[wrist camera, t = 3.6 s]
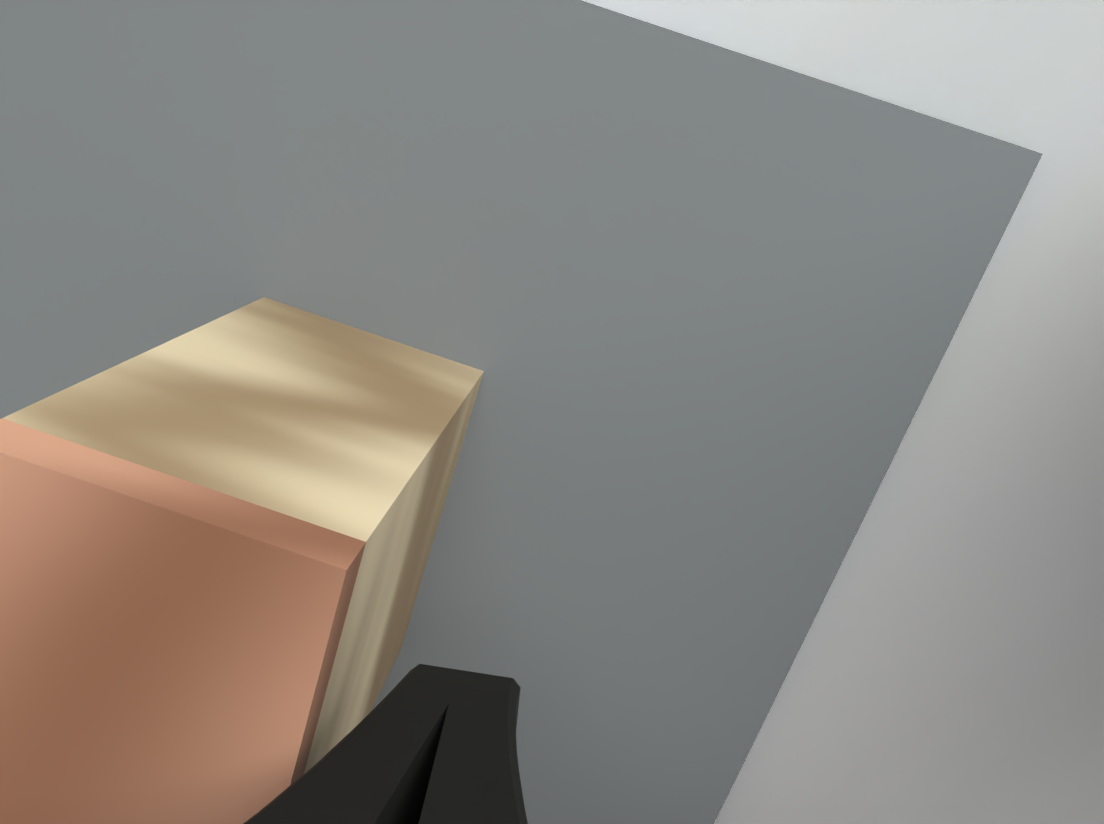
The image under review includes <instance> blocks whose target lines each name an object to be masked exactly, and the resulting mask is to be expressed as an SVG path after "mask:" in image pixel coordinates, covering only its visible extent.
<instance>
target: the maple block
mask: <svg viewBox="0 0 1104 824" xmlns="http://www.w3.org/2000/svg"><path fill="white" fill-rule="evenodd" d="M483 373H484V371H482V370H479V369H476V368H473V367H470V366H467V365H464V364H461V363H458V362H455V361H452V360H449V359H446V358H443V357H440V356H437V355H434V354H431V353H428V352H425V351H422V350H419V349H416V348H413V347H411V346H408V345H405V344H402V343H399V342H396V341H393V340H390V339H387V338H384V337H381V336H378V335H375V334H372V333H369V332H366V331H363V330H360V329H357V328H354V327H351V326H348V325H345V324H342V323H339V322H336V321H333V320H331V319H328V318H325V317H322V316H319V315H316V314H313V313H310V312H307V311H304V310H301V309H298V308H295V307H292V306H289V305H286V304H283V303H280V302H277V301H274V300H271V299H268V298H265V297H263V298H261V299H259V300H257V301H255V302H252V303H250V304H248V305H246V306H244V307H242V308H239V309H237V310H235V311H233V312H231V313H229V314H226V315H224V316H222V317H220V318H218V319H216V320H213V321H211V322H209V323H207V324H205V325H203V326H200V327H198V328H196V329H194V330H192V331H190V332H187V333H185V334H183V335H181V336H179V337H177V338H174V339H172V340H170V341H168V342H166V343H164V344H162V345H159V346H157V347H155V348H153V349H151V350H149V351H146V352H144V353H142V354H140V355H138V356H136V357H133V358H131V359H129V360H127V361H125V362H123V363H120V364H118V365H116V366H114V367H112V368H110V369H107V370H105V371H103V372H101V373H99V374H97V375H94V376H92V377H90V378H88V379H86V380H84V381H81V382H79V383H77V384H75V385H73V386H71V387H68V388H66V389H64V390H62V391H60V392H58V393H55V394H53V395H51V396H49V397H47V398H45V399H43V400H40V401H38V402H36V403H34V404H32V405H30V406H27V407H25V408H23V409H21V410H19V411H17V412H14V413H12V414H10V415H8V416H6V417H4V418H1V419H0V824H243V823H245V822H246V821H247V820H249V819H250V818H251V817H253V816H254V815H255V814H256V813H258V812H259V811H260V810H261V809H263V808H264V807H265V806H266V805H268V804H269V803H270V802H271V801H272V800H274V799H275V798H276V797H277V796H278V795H280V794H281V793H282V792H283V791H284V790H286V789H287V788H288V787H289V786H290V785H292V784H293V783H294V782H295V781H296V780H298V779H299V778H300V777H301V776H302V775H304V774H305V773H306V772H307V771H308V770H309V769H311V768H312V767H313V766H314V765H315V764H316V763H317V762H318V761H320V760H321V759H322V758H323V757H324V756H325V755H326V754H327V753H328V752H329V751H330V750H331V749H332V748H333V747H335V746H336V745H337V744H338V743H339V742H340V741H341V740H342V739H343V738H344V737H345V736H346V735H347V734H349V733H350V732H351V731H352V730H353V729H354V728H355V727H356V726H357V725H358V724H359V723H360V722H361V721H362V720H363V719H364V718H365V717H366V716H367V715H368V714H369V713H370V712H371V710H372V708H373V706H374V704H375V702H376V700H377V698H378V696H379V694H380V692H381V690H382V688H383V686H384V683H385V681H386V679H387V677H388V675H389V673H390V671H391V669H392V667H393V665H394V663H395V661H396V659H397V657H398V655H399V653H400V651H401V647H402V644H403V641H404V637H405V634H406V630H407V627H408V624H409V620H410V617H411V614H412V610H413V607H414V604H415V600H416V597H417V594H418V590H419V587H420V584H421V580H422V577H423V574H424V570H425V567H426V564H427V560H428V557H429V554H430V550H431V547H432V544H433V540H434V537H435V533H436V530H437V527H438V523H439V520H440V517H441V513H442V510H443V507H444V503H445V500H446V497H447V493H448V490H449V487H450V483H451V480H452V477H453V473H454V470H455V467H456V463H457V460H458V457H459V453H460V450H461V446H462V443H463V440H464V436H465V433H466V430H467V426H468V423H469V420H470V416H471V413H472V410H473V406H474V403H475V400H476V396H477V393H478V390H479V386H480V383H481V380H482V376H483Z"/></svg>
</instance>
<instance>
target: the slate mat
mask: <svg viewBox="0 0 1104 824" xmlns="http://www.w3.org/2000/svg"><path fill="white" fill-rule="evenodd" d="M1041 156H1042V154H1041V153H1038V152H1035V151H1032V150H1029V149H1026V148H1023V147H1020V146H1017V145H1014V144H1011V143H1008V142H1005V141H1002V140H999V139H996V138H993V137H990V136H987V135H984V134H981V133H978V132H975V131H972V130H969V129H966V128H963V127H960V126H957V125H954V124H951V123H948V122H945V121H942V120H939V119H936V118H933V117H930V116H927V115H924V114H921V113H918V112H915V111H912V110H909V109H906V108H903V107H900V106H897V105H894V104H891V103H888V102H885V101H882V100H879V99H876V98H873V97H870V96H867V95H864V94H861V93H858V92H855V91H852V90H849V89H846V88H843V87H840V86H837V85H834V84H831V83H827V82H824V81H821V80H818V79H815V78H812V77H809V76H806V75H803V74H800V73H797V72H794V71H791V70H788V69H785V68H782V67H779V66H776V65H773V64H770V63H767V62H764V61H761V60H758V59H755V58H752V57H749V56H746V55H743V54H740V53H737V52H734V51H731V50H728V49H725V48H722V47H719V46H716V45H713V44H710V43H707V42H704V41H701V40H698V39H695V38H692V37H689V36H686V35H683V34H680V33H677V32H674V31H671V30H668V29H665V28H662V27H659V26H656V25H653V24H650V23H647V22H644V21H641V20H638V19H635V18H632V17H629V16H626V15H623V14H620V13H617V12H614V11H611V10H608V9H605V8H602V7H599V6H596V5H593V4H590V3H587V2H584V1H581V0H0V419H1V418H4V417H6V416H8V415H10V414H12V413H14V412H17V411H19V410H21V409H23V408H25V407H27V406H30V405H32V404H34V403H36V402H38V401H40V400H43V399H45V398H47V397H49V396H51V395H53V394H55V393H58V392H60V391H62V390H64V389H66V388H68V387H71V386H73V385H75V384H77V383H79V382H81V381H84V380H86V379H88V378H90V377H92V376H94V375H97V374H99V373H101V372H103V371H105V370H107V369H110V368H112V367H114V366H116V365H118V364H120V363H123V362H125V361H127V360H129V359H131V358H133V357H136V356H138V355H140V354H142V353H144V352H146V351H149V350H151V349H153V348H155V347H157V346H159V345H162V344H164V343H166V342H168V341H170V340H172V339H174V338H177V337H179V336H181V335H183V334H185V333H187V332H190V331H192V330H194V329H196V328H198V327H200V326H203V325H205V324H207V323H209V322H211V321H213V320H216V319H218V318H220V317H222V316H224V315H226V314H229V313H231V312H233V311H235V310H237V309H239V308H242V307H244V306H246V305H248V304H250V303H252V302H255V301H257V300H259V299H261V298H263V297H265V298H268V299H271V300H274V301H277V302H280V303H283V304H286V305H289V306H292V307H295V308H298V309H301V310H304V311H307V312H310V313H313V314H316V315H319V316H322V317H325V318H328V319H331V320H333V321H336V322H339V323H342V324H345V325H348V326H351V327H354V328H357V329H360V330H363V331H366V332H369V333H372V334H375V335H378V336H381V337H384V338H387V339H390V340H393V341H396V342H399V343H402V344H405V345H408V346H411V347H413V348H416V349H419V350H422V351H425V352H428V353H431V354H434V355H437V356H440V357H443V358H446V359H449V360H452V361H455V362H458V363H461V364H464V365H467V366H470V367H473V368H476V369H479V370H482V371H484V373H483V376H482V380H481V383H480V386H479V390H478V393H477V396H476V400H475V403H474V406H473V410H472V413H471V416H470V420H469V423H468V426H467V430H466V433H465V436H464V440H463V443H462V446H461V450H460V453H459V457H458V460H457V463H456V467H455V470H454V473H453V477H452V480H451V483H450V487H449V490H448V493H447V497H446V500H445V503H444V507H443V510H442V513H441V517H440V520H439V523H438V527H437V530H436V533H435V537H434V540H433V544H432V547H431V550H430V554H429V557H428V560H427V564H426V567H425V570H424V574H423V577H422V580H421V584H420V587H419V590H418V594H417V597H416V600H415V604H414V607H413V610H412V614H411V617H410V620H409V624H408V627H407V630H406V634H405V637H404V641H403V644H402V647H401V651H400V653H399V655H398V657H397V659H396V661H395V663H394V665H393V667H392V669H391V671H390V673H389V675H388V677H387V679H386V681H385V683H384V686H383V688H382V690H381V692H380V694H379V696H378V698H377V700H376V702H375V704H374V706H373V708H372V710H373V709H374V708H375V707H376V706H377V705H378V704H379V703H380V702H381V701H382V700H383V699H384V698H385V697H386V696H387V695H388V694H389V693H390V692H391V691H392V690H393V688H394V687H395V686H396V685H397V684H398V683H399V682H400V681H401V680H402V679H403V678H404V677H405V676H406V675H407V673H408V672H409V671H410V670H411V669H413V668H414V667H416V666H417V665H419V664H425V665H431V666H438V667H444V668H451V669H457V670H464V671H470V672H477V673H483V674H490V675H496V676H503V677H509V678H513V679H514V680H515V681H516V682H517V684H518V685H519V686H520V687H521V688H520V698H519V708H518V718H517V728H516V743H517V757H518V766H519V774H520V780H521V787H522V794H523V800H524V807H525V812H526V817H527V822H528V824H714V822H715V820H716V818H717V816H718V814H719V812H720V810H721V808H722V806H723V804H724V802H725V800H726V798H727V796H728V794H729V791H730V789H731V787H732V785H733V783H734V781H735V779H736V777H737V775H738V773H739V771H740V769H741V767H742V765H743V763H744V761H745V759H746V757H747V755H748V753H749V751H750V749H751V747H752V745H753V743H754V741H755V739H756V737H757V734H758V732H759V730H760V728H761V726H762V724H763V722H764V720H765V718H766V716H767V714H768V712H769V710H770V708H771V706H772V704H773V702H774V700H775V698H776V696H777V694H778V692H779V690H780V688H781V686H782V684H783V682H784V679H785V677H786V675H787V673H788V671H789V669H790V667H791V665H792V663H793V661H794V659H795V657H796V655H797V653H798V651H799V649H800V647H801V645H802V643H803V641H804V639H805V637H806V635H807V633H808V631H809V629H810V627H811V625H812V622H813V620H814V618H815V616H816V614H817V612H818V610H819V608H820V606H821V604H822V602H823V600H824V598H825V596H826V594H827V592H828V590H829V588H830V586H831V584H832V582H833V580H834V578H835V576H836V574H837V572H838V570H839V568H840V565H841V563H842V561H843V559H844V557H845V555H846V553H847V551H848V549H849V547H850V545H851V543H852V541H853V539H854V537H855V535H856V533H857V531H858V529H859V527H860V525H861V523H862V521H863V519H864V517H865V515H866V513H867V510H868V508H869V506H870V504H871V502H872V500H873V498H874V496H875V494H876V492H877V490H878V488H879V486H880V484H881V482H882V480H883V478H884V476H885V474H886V472H887V470H888V468H889V466H890V464H891V462H892V460H893V458H894V456H895V453H896V451H897V449H898V447H899V445H900V443H901V441H902V439H903V437H904V435H905V433H906V431H907V429H908V427H909V425H910V423H911V421H912V419H913V417H914V415H915V413H916V411H917V409H918V407H919V405H920V403H921V401H922V399H923V396H924V394H925V392H926V390H927V388H928V386H929V384H930V382H931V380H932V378H933V376H934V374H935V372H936V370H937V368H938V366H939V364H940V362H941V360H942V358H943V356H944V354H945V352H946V350H947V348H948V346H949V344H950V341H951V339H952V337H953V335H954V333H955V331H956V329H957V327H958V325H959V323H960V321H961V319H962V317H963V315H964V313H965V311H966V309H967V307H968V305H969V303H970V301H971V299H972V297H973V295H974V293H975V291H976V289H977V287H978V284H979V282H980V280H981V278H982V276H983V274H984V272H985V270H986V268H987V266H988V264H989V262H990V260H991V258H992V256H993V254H994V252H995V250H996V248H997V246H998V244H999V242H1000V240H1001V238H1002V236H1003V234H1004V232H1005V230H1006V227H1007V225H1008V223H1009V221H1010V219H1011V217H1012V215H1013V213H1014V211H1015V209H1016V207H1017V205H1018V203H1019V201H1020V199H1021V197H1022V195H1023V193H1024V191H1025V189H1026V187H1027V185H1028V183H1029V181H1030V179H1031V177H1032V175H1033V172H1034V170H1035V168H1036V166H1037V164H1038V162H1039V160H1040V158H1041ZM372 710H371V711H372Z"/></svg>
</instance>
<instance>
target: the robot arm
mask: <svg viewBox="0 0 1104 824" xmlns="http://www.w3.org/2000/svg"><path fill="white" fill-rule="evenodd" d="M520 688H521V687H520V686H519V685H518V684H517V682H516V681H515V680H514V679H513V678H509V677H503V676H496V675H490V674H483V673H477V672H470V671H464V670H457V669H451V668H444V667H438V666H431V665H425V664H419V665H417V666H416V667H414V668H413V669H411V670H410V671H409V672H408V673H407V675H406V676H405V677H404V678H403V679H402V680H401V681H400V682H399V683H398V684H397V685H396V686H395V687H394V688H393V690H392V691H391V692H390V693H389V694H388V695H387V696H386V697H385V698H384V699H383V700H382V701H381V702H380V703H379V704H378V705H377V706H376V707H375V708H374V709H373V710H372V711H371V712H370V713H369V714H368V715H367V716H366V717H365V718H364V719H363V720H362V721H361V722H360V723H359V724H358V725H357V726H356V727H355V728H354V729H353V730H352V731H351V732H350V733H349V734H347V735H346V736H345V737H344V738H343V739H342V740H341V741H340V742H339V743H338V744H337V745H336V746H335V747H333V748H332V749H331V750H330V751H329V752H328V753H327V754H326V755H325V756H324V757H323V758H322V759H321V760H320V761H318V762H317V763H316V764H315V765H314V766H313V767H312V768H311V769H309V770H308V771H307V772H306V773H305V774H304V775H302V776H301V777H300V778H299V779H298V780H296V781H295V782H294V783H293V784H292V785H290V786H289V787H288V788H287V789H286V790H284V791H283V792H282V793H281V794H280V795H278V796H277V797H276V798H275V799H274V800H272V801H271V802H270V803H269V804H268V805H266V806H265V807H264V808H263V809H261V810H260V811H259V812H258V813H256V814H255V815H254V816H253V817H251V818H250V819H249V820H247V821H246V822H245V823H243V824H528V822H527V817H526V812H525V807H524V800H523V794H522V787H521V780H520V774H519V766H518V757H517V743H516V728H517V718H518V708H519V698H520Z"/></svg>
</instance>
